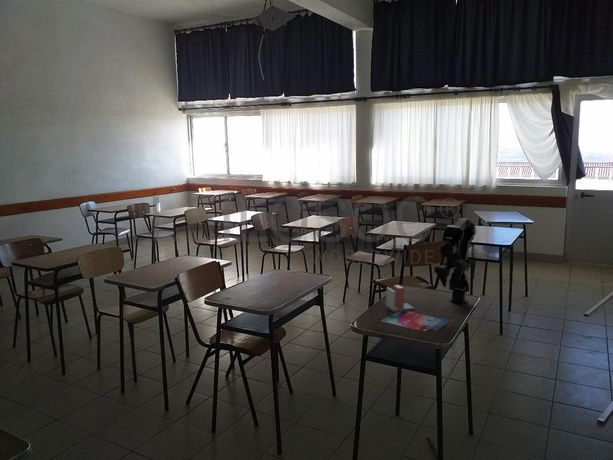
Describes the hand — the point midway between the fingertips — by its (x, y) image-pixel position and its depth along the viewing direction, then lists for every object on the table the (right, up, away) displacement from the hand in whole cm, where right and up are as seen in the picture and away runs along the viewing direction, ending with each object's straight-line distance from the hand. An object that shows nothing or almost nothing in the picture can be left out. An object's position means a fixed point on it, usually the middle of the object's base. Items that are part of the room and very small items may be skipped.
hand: (450, 285), depth 223 cm
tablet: (-19, -16, -9) cm, 26 cm away
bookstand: (-23, -12, +7) cm, 26 cm away
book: (-23, -11, +6) cm, 27 cm away
